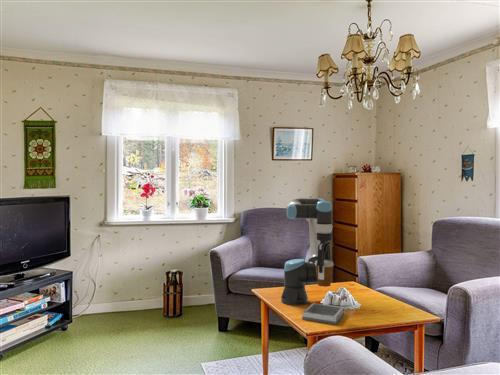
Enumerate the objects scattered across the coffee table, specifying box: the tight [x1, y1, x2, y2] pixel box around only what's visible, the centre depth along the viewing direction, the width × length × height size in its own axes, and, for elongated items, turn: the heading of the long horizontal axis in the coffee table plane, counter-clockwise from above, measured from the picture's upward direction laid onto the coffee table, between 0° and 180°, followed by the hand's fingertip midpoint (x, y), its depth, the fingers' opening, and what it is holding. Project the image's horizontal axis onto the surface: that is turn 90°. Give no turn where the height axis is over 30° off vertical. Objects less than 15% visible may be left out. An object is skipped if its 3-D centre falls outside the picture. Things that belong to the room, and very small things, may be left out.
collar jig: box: [301, 302, 345, 326], centre depth 202 cm, size 17×17×4 cm
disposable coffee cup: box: [315, 259, 335, 288], centre depth 202 cm, size 10×10×12 cm
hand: (324, 277), depth 202 cm, fingers closed on disposable coffee cup, 9 cm apart
